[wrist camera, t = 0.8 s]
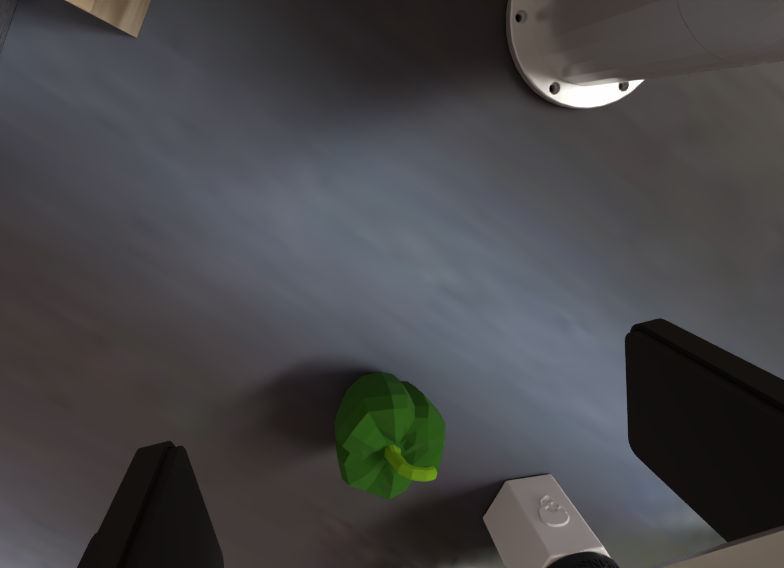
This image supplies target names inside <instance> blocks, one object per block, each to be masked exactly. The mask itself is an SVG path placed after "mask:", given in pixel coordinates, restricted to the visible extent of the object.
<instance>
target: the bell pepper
mask: <svg viewBox="0 0 784 568" xmlns="http://www.w3.org/2000/svg"><path fill="white" fill-rule="evenodd" d="M334 430H335V438H336V439H337V440H336V448H337V458H338V462H339V467H340V471H341V476H342V479H343V480H344V481H345V482H346V483H347V484H348V485H349V486H352V487H355V488H358V489H361V490H364V491H366V492H369V493H372V494H375V495H378V496H381V497H383V498H386V499H389V500H390V499H391V498H393V497H395V496H397V495H398V494H400V493H402V492H404V491H405V490H407V488H408V487H409V485H410V483H411V482H412V481H423V482H426V481H430V480H434V479H436V475H437V472H438V471H439V466H440V461H441V457H442V452H443V448H444V443H445V422H444V420H443V418H442V416H441V415H440V413H439V411H438V410H437V408H436V407H435V406H434V405H433V404H432V403H431V402H430V401H429V400H428V399H427V398H426V396H425V395H424V394H423V393H422V392H420V391H419V390H418V389H417V388H416V387H415V386H413V385H412V384H410V383H409V382H405V381H401V382H400V381H399V380H398V379H397V378H396V377H395V376H394V375H392V374H389V373H384V372H376V373H372V374H367V375H363V376H360V377H359V378H358V379H357V380H356V381H355V382H354V383H353V384H352V385H351V386H350V387H349V388H348V389H347V391H346V393H345V395H344V397H343V400H342V402H341V404H340V407H339V409H338V411H337V415H336V418H335V421H334Z"/></svg>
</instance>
